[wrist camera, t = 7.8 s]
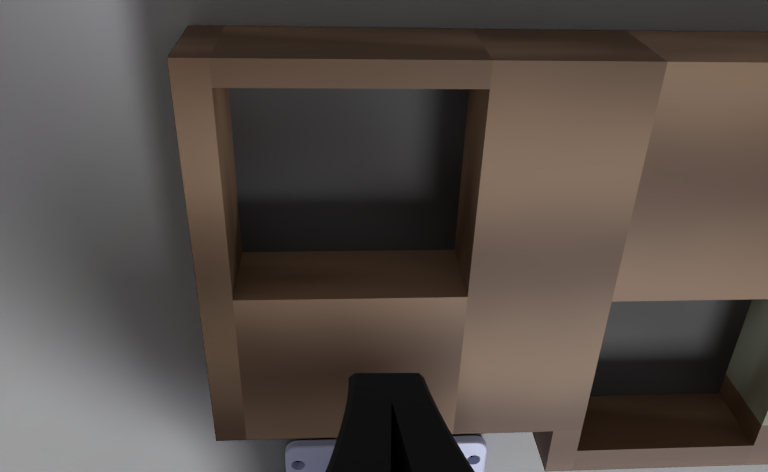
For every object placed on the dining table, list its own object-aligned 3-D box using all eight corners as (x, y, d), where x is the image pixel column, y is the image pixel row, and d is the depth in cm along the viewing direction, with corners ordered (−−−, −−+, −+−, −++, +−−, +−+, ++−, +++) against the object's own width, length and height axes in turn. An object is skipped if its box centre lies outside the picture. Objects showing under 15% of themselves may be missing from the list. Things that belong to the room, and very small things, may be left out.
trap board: (873, 402, 29) (966, 503, 25) (231, 418, 28) (213, 531, 23) (1060, 35, 22) (1239, 90, 17) (188, 25, 20) (148, 84, 16)
